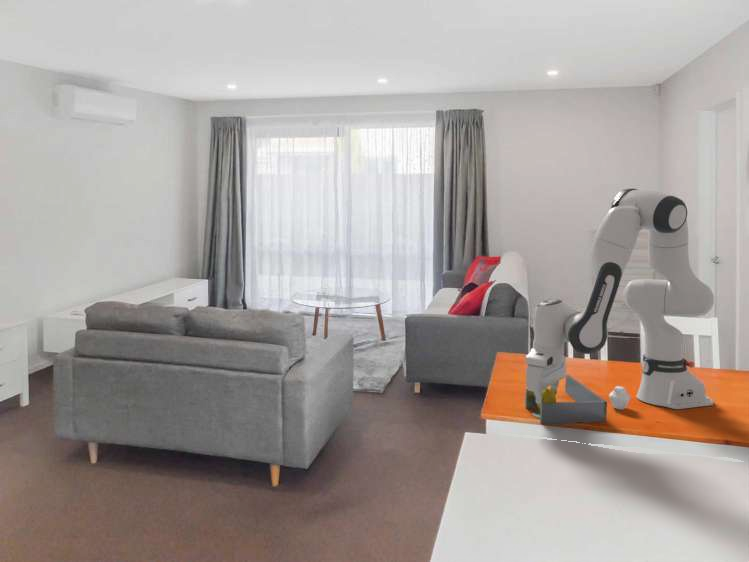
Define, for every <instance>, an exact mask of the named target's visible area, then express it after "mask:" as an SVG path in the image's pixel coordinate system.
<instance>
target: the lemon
mask: <svg viewBox="0 0 749 562" xmlns="http://www.w3.org/2000/svg"><path fill="white" fill-rule="evenodd" d="M549 389H550V388H548V387H547V388H546V389H545V390H543V392H542V397H543V403H550V402H557V398H556V395H555V394H554V393H553V392H552V391H551V390H549ZM537 405H538V408H537V409H538V410H540V409H541V404H538V403H537Z"/></svg>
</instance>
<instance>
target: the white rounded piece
mask: <svg viewBox="0 0 749 562" xmlns="http://www.w3.org/2000/svg"><path fill="white" fill-rule="evenodd" d="M608 397H609V401H610V404H612V407H613V408H614V409H615V408H616V410H625V408H626V407H627V405H628V404H629V402H630V400H631V396H630V394H629V393H628V392H627V389H626V387H624V386H620V385H617V386H615V387H614V388H613V390H612V391H611V392H610V393H609V394H608Z"/></svg>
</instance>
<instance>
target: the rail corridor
mask: <svg viewBox="0 0 749 562" xmlns="http://www.w3.org/2000/svg"><path fill="white" fill-rule="evenodd" d="M564 386H565V388H564V389H565V390H564V393H566V394H567V395H568V396H569V397H570V398H572V399H573V400H575V401H558V402H557V401H556V402H550V403H541V409H539V408H538V405H537V403H536V397H535V394H534V392H533V391H529V390H528V389H527V388H525V392H524V393H525V396H524V397H525V399H524V401H525V402H524V408H525V409H536V410H533V411H532V412H531V415H532V417H534V418H536V419H539V423H540V425H545V424H546V425H549V424H554V425H555V424H574V423H575V424H576V422H583V423H604V422H607V413H608V412H607V411H608V401H607V400H605V399H604V398H603V397H601V396H599V394H598V393H595V392H594V391H593V390H591V389H590V388H589V387H587V386H585V384H582V383H581V382H580V381H578V380H577V379H575V378H574V377H573V376H572V375H570V374H566V375H565V384H564ZM545 389H546V388H545ZM545 389H543V390H545Z"/></svg>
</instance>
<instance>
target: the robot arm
mask: <svg viewBox="0 0 749 562" xmlns="http://www.w3.org/2000/svg"><path fill="white" fill-rule="evenodd" d="M687 218H688V208H687V205H686V203H685V201H683V199H681V198H678V197H676V196H674V195H668V194H666V193H662V192H658V191H654V190H646V189H636V188H625V189H622V190H620V191H619V192H618V193H617V194H616V195H615V196H614V198H613V200H612V202H611V207H610V209H609V210H608V212H607V213H606V214H605V216H604V217H603V219H602V221H601V222H600V224H599V226H598V228H597V230H596V233H595V235H594V238H593V239H592V243H591V245H590V249H589V254H588V261H587V262H588V265H589V267H590V269H591V273H592V279H593V280H592V281H593V283H592V289H591V291H590V293H589V297H588V300H587V303H586V306H585V309H584V311H583V310H581V309H577V308H574V307H572V306H570V305H568V304H567V303H565V302H564V301H563V300H561V299H556V298H555V299H547V300H546V299H545V300H542V301H541V302H539V303H538V304H537V305H536V307H535V311H534V317H533V318H534V319H533V333H534V338H533V341H532V347H531V350H530V352H529V353H528V354H527V355H526V357H525V364H527V366H526V368H525V387H526V389H528V390H529V391H533V392H534V394H535V397H536V403H538V404H541V403H543V397H542V392H543V389H545V388H547V389H549V390H551V391H552V392H553V393H554V394H555V396H557V393H558V387H559V384H560V381H561V380H563V379H565V378H566V375H567V361H566V356H565V355H564V353H565V352H564V351H565V349H564V348H565V343H570V345H571V347H572V348H573V349H574V350H575V352H578V353H580V354H583V355H591V354H594V353H597V352H599V351H600V350H601V349H603V348H604V346H606V343H607V341H608V320H609V317H610V314H611V311H612V307H613V305H614V302H615V298H616V295H617V292H618V290H619V286H620V282H621V280H622V277H623V275H624V272H625V269H626V267H627V265H628V263H629V261H630V257H631V256H632V254H633V251H634V248H635V246H636V243H637V239H638V236H639V233H640V231H641V230H648V233H647V262H648V265H649V266H650V268H651V269H652V270H653V271H654V272H656V273H657V274H659V275H661V276H663V277H664V278H665V279H655V278H639V279H632V280H630V281H629V282H628V283H627V284H626V286H625V287H624V289H623V294H622V295H623V302H624V303H625V305H626V307H627V308H628V309H629V310H631V312H633V313H634V314H635V315H636V316H637V318H638V319H639V321H640V322H641V325H642V328H643V331H644V354H643V355H642V362H641V363H642V364H641V365H642V367H641V370H642V374H641V375H642V376H641V381H640V384H639V388H638V391H637V393H636V398H637V399H638V400H639V401H641V402H644V403H647V404H651V405H654V406H658V407H666V408H669V409H672V410H673V409H674V410H683V409H691V408H699V407H707V406H708V407H709V406H714V400H713V399H712V398H711V397H710V396H708V395H707V393H706V386H705V384H704V382H703V381H702V380H700V378H698V377H697V376H696V375H694V374H693V373H692V372H691V371H690V370H688V368H691V369H692V368H694V367H695V362H694V361H693V360H690V359H688V360H687V359H685V358H684V357H683V355H684V345H685V344H684V342H685V338H684V334H683V333H682V331H681V330H680V329H679V328H677V327H675V326H674V325H672V324H670V323H668V321H667V320H666V319H665V316H666V315H668V316H676V317H677V316H678V317H679V316H680V317H687V318H691V317H700V316H706V315H707V314H708V313H709V312H710V311H711V310H712V308H713V306H714V303H715V297H714V292H713V291H712V289H711V288H710V286H708V285H707V284H705V283H704V282H702V281H701V280H700V279H699V278H698V277H697V275H696V274H695V273H694V272H693V269H692V267H691V265H690V260H689V259H690V258H689V227H688V219H687ZM548 387H550V388H548Z"/></svg>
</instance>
